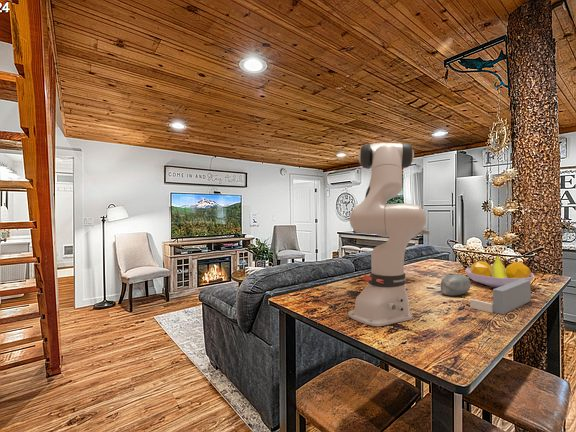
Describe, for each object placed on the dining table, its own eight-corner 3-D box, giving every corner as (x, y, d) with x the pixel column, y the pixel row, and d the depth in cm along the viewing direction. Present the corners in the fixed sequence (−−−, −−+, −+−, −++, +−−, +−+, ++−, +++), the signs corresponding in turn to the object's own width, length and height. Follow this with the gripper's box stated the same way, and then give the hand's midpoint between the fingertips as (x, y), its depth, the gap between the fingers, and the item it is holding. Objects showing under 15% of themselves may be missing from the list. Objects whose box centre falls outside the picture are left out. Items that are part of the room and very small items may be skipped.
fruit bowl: (525, 296, 118) (525, 268, 117) (455, 283, 139) (454, 260, 139) (544, 284, 134) (544, 259, 134) (478, 274, 156) (478, 253, 156)
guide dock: (501, 315, 98) (501, 291, 98) (470, 307, 106) (469, 285, 106) (531, 300, 112) (531, 279, 112) (502, 294, 121) (501, 275, 120)
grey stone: (453, 280, 132) (458, 264, 127) (472, 294, 125) (479, 277, 120) (432, 291, 127) (437, 275, 122) (451, 306, 120) (457, 289, 115)
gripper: (383, 226, 142) (407, 230, 130) (411, 222, 152) (435, 224, 140) (383, 239, 143) (407, 243, 131) (411, 234, 153) (435, 237, 141)
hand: (422, 233), depth 136 cm, fingers open, 8 cm apart
